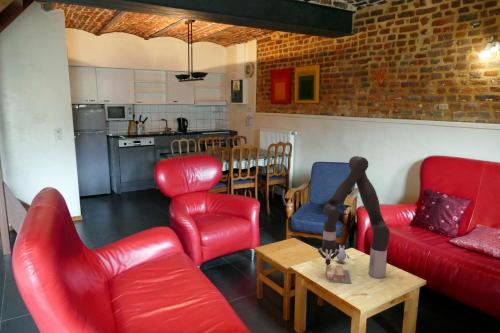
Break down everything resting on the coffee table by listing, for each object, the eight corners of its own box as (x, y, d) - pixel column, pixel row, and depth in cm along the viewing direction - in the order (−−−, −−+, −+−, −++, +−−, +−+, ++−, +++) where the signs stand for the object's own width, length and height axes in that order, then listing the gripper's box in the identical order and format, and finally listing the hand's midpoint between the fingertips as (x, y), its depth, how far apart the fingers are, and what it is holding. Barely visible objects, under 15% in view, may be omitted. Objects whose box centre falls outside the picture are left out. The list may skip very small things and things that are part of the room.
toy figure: (349, 262, 234) (351, 245, 232) (348, 266, 229) (349, 248, 226) (333, 258, 239) (334, 242, 236) (331, 262, 233) (332, 245, 231)
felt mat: (348, 270, 222) (348, 270, 222) (351, 283, 207) (351, 283, 207) (327, 269, 224) (327, 268, 224) (329, 282, 209) (329, 281, 209)
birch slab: (325, 269, 222) (342, 271, 221) (327, 279, 211) (344, 280, 209) (326, 264, 222) (342, 265, 220) (327, 273, 210) (344, 275, 209)
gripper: (340, 235, 215) (338, 262, 218) (317, 234, 216) (316, 260, 220) (341, 240, 207) (339, 268, 211) (318, 239, 209) (316, 266, 212)
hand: (327, 264), depth 215 cm, fingers closed
